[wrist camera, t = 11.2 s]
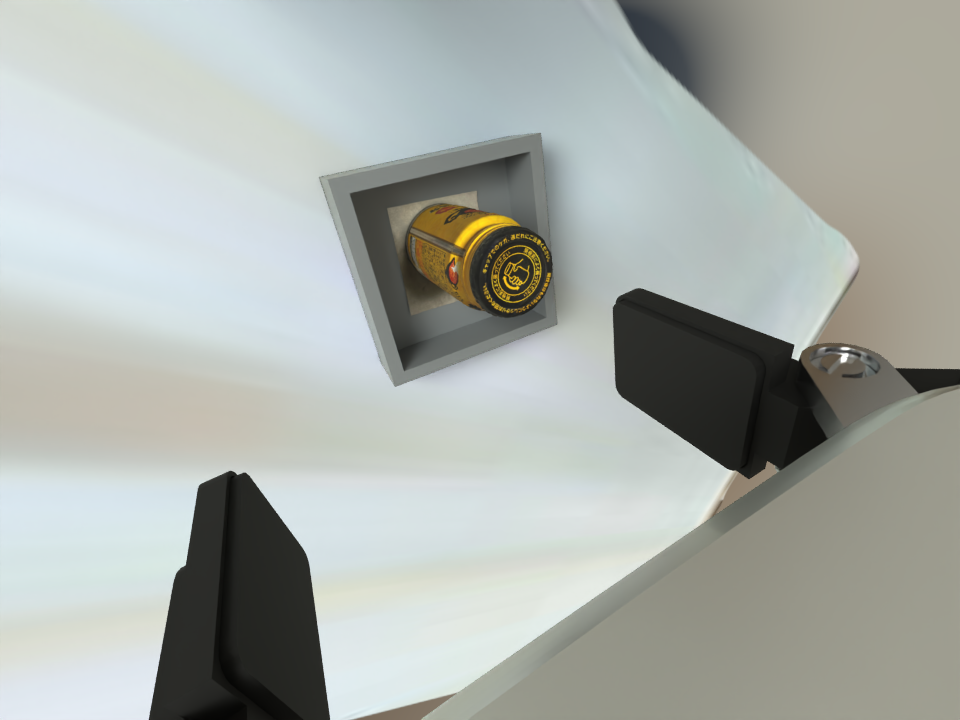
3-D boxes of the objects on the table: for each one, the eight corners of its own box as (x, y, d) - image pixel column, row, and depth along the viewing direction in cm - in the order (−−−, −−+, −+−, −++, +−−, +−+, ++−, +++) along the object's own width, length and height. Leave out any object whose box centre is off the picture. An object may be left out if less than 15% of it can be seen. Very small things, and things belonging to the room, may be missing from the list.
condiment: (475, 190, 33) (566, 202, 23) (488, 292, 37) (569, 339, 27) (386, 207, 31) (444, 229, 21) (409, 314, 35) (468, 374, 25)
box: (319, 177, 28) (327, 179, 25) (509, 136, 33) (540, 132, 29) (381, 363, 36) (395, 386, 32) (530, 309, 40) (557, 324, 37)
